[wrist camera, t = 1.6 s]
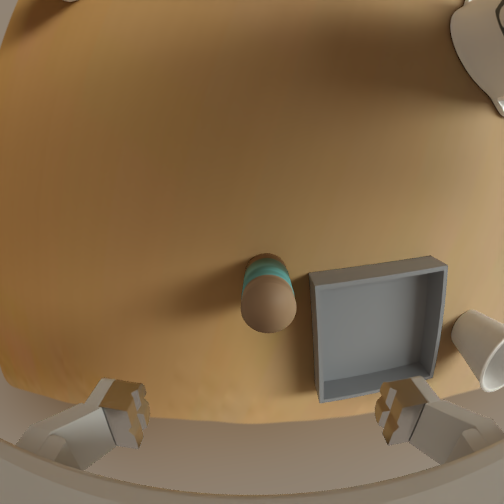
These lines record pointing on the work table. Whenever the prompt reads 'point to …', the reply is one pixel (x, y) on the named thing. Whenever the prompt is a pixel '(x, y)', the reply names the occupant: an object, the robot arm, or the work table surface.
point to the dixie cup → (481, 347)
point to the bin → (375, 325)
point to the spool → (267, 294)
